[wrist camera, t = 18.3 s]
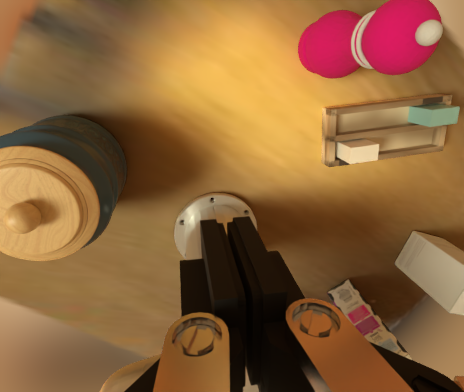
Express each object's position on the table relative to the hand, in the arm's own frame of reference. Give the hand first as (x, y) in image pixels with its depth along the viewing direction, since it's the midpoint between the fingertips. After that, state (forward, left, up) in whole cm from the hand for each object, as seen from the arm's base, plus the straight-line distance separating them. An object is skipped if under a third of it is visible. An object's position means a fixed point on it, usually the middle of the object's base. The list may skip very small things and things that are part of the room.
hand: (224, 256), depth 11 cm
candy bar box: (-37, -25, -34) cm, 56 cm away
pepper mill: (+7, -18, -34) cm, 39 cm away
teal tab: (-3, -34, -33) cm, 47 cm away
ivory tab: (-7, -22, -33) cm, 40 cm away
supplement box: (-28, -38, -34) cm, 58 cm away
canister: (-4, +15, -34) cm, 37 cm away
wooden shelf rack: (-5, -28, -34) cm, 44 cm away
